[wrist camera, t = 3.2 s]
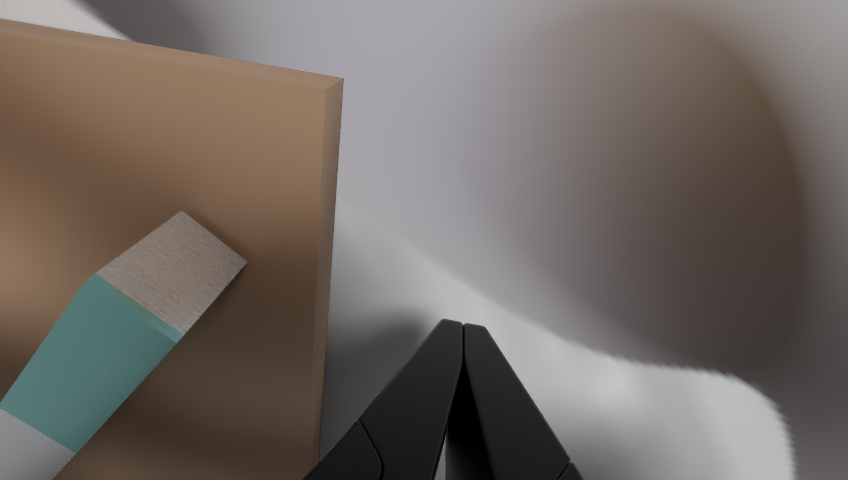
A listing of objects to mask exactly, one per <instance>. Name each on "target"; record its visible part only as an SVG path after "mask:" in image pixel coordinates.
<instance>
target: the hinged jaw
mask: <svg viewBox="0 0 848 480" xmlns="http://www.w3.org/2000/svg"><path fill="white" fill-rule="evenodd" d="M246 263H247V261H246V260H245V259H244V258H242V257H241V256H240V255H238V254H237V253H236V252H235V251H233V250H232V249H231V248H229V247H228V246H227V245H226V244H224V243H223V242H222V241H221V240H219V239H218V238H217V237H215V236H214V235H213V234H212V233H210V232H209V231H208V230H206V229H205V228H204V227H203V226H201V225H200V224H199V223H197V222H196V221H195V220H194V219H192V218H191V217H190V216H189V215H187V214H186V213H185V212H183V211H180V212H179V213H177V214H176V215H175V216H173V217H172V218H171V219H169V220H168V221H166V222H165V223H164V224H162V225H161V226H160V227H158V228H157V229H155V230H154V231H153V232H151V233H150V234H149V235H147V236H146V237H144V238H143V239H142V240H140V241H139V242H138V243H136V244H135V245H133V246H132V247H131V248H129V249H128V250H127V251H125V252H124V253H122V254H121V255H120V256H118V257H117V258H116V259H114V260H113V261H111V262H110V263H109V264H107V265H106V266H105V267H103V268H102V269H100V270H99V271H98V272H96V273H95V274H94V275H92V276H91V277H89V278H88V279H87V280H86V281H85V282H84V283H83V285H82V286H81V288H80V289H79V291H78V292H77V294H76V295H75V296H74V298H73V299H72V301H71V302H70V304H69V305H68V306H67V308H66V309H65V311H64V312H63V314H62V315H61V316H60V318H59V319H58V321H57V322H56V324H55V325H54V326H53V328H52V329H51V331H50V332H49V334H48V335H47V337H46V338H45V339H44V341H43V342H42V344H41V345H40V347H39V348H38V349H37V351H36V352H35V354H34V355H33V357H32V358H31V359H30V361H29V362H28V364H27V365H26V367H25V368H24V369H23V371H22V372H21V374H20V375H19V377H18V378H17V380H16V381H15V382H14V384H13V385H12V387H11V388H10V390H9V391H8V392H7V394H6V395H5V397H4V398H3V400H2V401H1V402H0V480H53V478H54V477H55V476H56V475H57V474H58V473H59V472H60V471H61V470H62V469H63V467H64V466H65V465H66V464H67V463H68V462H69V461H70V460H71V459H72V458H73V457H74V455H75V454H77V452H78V451H79V450H80V449H81V448H82V447H83V446H84V445H85V444H86V443H87V441H88V440H89V439H90V438H91V437H92V436H93V435H94V434H95V433H96V432H97V430H98V429H99V428H100V427H101V426H102V425H103V424H104V423H105V422H106V421H107V419H108V418H109V417H110V416H111V415H112V414H113V413H114V412H115V411H116V410H117V409H118V407H119V406H120V405H121V404H122V403H123V402H124V401H125V400H126V399H127V398H128V396H129V395H130V394H131V393H132V392H133V391H134V390H135V389H136V388H137V387H138V385H139V384H140V383H141V382H142V381H143V380H144V379H145V378H146V377H147V376H148V374H149V373H150V372H151V371H152V370H153V369H154V368H155V367H156V366H157V365H158V363H159V362H160V361H161V360H162V359H163V358H164V357H165V356H166V355H167V354H168V353H169V351H170V350H171V349H172V348H173V347H174V346H175V345H176V344H177V343H178V341H179V340H180V339H181V338H182V337H183V336H184V335H185V333H186V332H187V331H188V330H189V329H190V328H191V326H192V325H193V324H194V323H195V322H196V321H197V320H198V318H199V317H200V316H201V315H202V314H203V313H204V312H205V310H206V309H207V308H208V307H209V306H210V305H211V303H212V302H213V301H214V300H215V299H216V298H217V297H218V295H219V294H220V293H221V292H222V291H223V290H224V288H225V287H226V286H227V285H228V284H229V283H230V282H231V280H232V279H233V278H234V277H235V276H236V275H237V274H238V272H239V271H240V270H241V269H242V268H243V267H244V265H245V264H246Z"/></svg>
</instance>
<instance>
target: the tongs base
mask: <svg viewBox="0 0 848 480" xmlns="http://www.w3.org/2000/svg"><path fill="white" fill-rule="evenodd" d="M343 81H344V79H343V78H338V77H333V76H327V75H321V74H315V73H310V72H304V71H298V70H292V69H286V68H281V67H275V66H269V65H264V64H258V63H252V62H246V61H240V60H235V59H229V58H223V57H217V56H212V55H206V54H200V53H195V52H189V51H183V50H177V49H172V48H166V47H160V46H154V45H149V44H143V43H137V42H131V41H126V40H120V39H114V38H108V37H103V36H97V35H91V34H85V33H79V32H74V31H68V30H62V29H56V28H51V27H45V26H39V25H33V24H28V23H22V22H16V21H10V20H5V19H0V402H1V401H2V400H3V398H4V397H5V395H6V394H7V392H8V391H9V390H10V388H11V387H12V385H13V384H14V382H15V381H16V380H17V378H18V377H19V375H20V374H21V372H22V371H23V369H24V368H25V367H26V365H27V364H28V362H29V361H30V359H31V358H32V357H33V355H34V354H35V352H36V351H37V349H38V348H39V347H40V345H41V344H42V342H43V341H44V339H45V338H46V337H47V335H48V334H49V332H50V331H51V329H52V328H53V326H54V325H55V324H56V322H57V321H58V319H59V318H60V316H61V315H62V314H63V312H64V311H65V309H66V308H67V306H68V305H69V304H70V302H71V301H72V299H73V298H74V296H75V295H76V294H77V292H78V291H79V289H80V288H81V286H82V285H83V283H84V282H85V281H86V280H87V279H88V278H89V277H91V276H92V275H94V274H95V273H96V272H98V271H99V270H100V269H102V268H103V267H105V266H106V265H107V264H109V263H110V262H111V261H113V260H114V259H116V258H117V257H118V256H120V255H121V254H122V253H124V252H125V251H127V250H128V249H129V248H131V247H132V246H133V245H135V244H136V243H138V242H139V241H140V240H142V239H143V238H144V237H146V236H147V235H149V234H150V233H151V232H153V231H154V230H155V229H157V228H158V227H160V226H161V225H162V224H164V223H165V222H166V221H168V220H169V219H171V218H172V217H173V216H175V215H176V214H177V213H179V212H180V211H183V212H185V213H186V214H187V215H189V216H190V217H191V218H192V219H194V220H195V221H196V222H197V223H199V224H200V225H201V226H203V227H204V228H205V229H206V230H208V231H209V232H210V233H212V234H213V235H214V236H215V237H217V238H218V239H219V240H221V241H222V242H223V243H224V244H226V245H227V246H228V247H229V248H231V249H232V250H233V251H235V252H236V253H237V254H238V255H240V256H241V257H242V258H244V259H245V260H246V261H247V263H246V264H245V265H244V267H243V268H242V269H241V270H240V271H239V272H238V274H237V275H236V276H235V277H234V278H233V279H232V280H231V282H230V283H229V284H228V285H227V286H226V287H225V288H224V290H223V291H222V292H221V293H220V294H219V295H218V297H217V298H216V299H215V300H214V301H213V302H212V303H211V305H210V306H209V307H208V308H207V309H206V310H205V312H204V313H203V314H202V315H201V316H200V317H199V318H198V320H197V321H196V322H195V323H194V324H193V325H192V326H191V328H190V329H189V330H188V331H187V332H186V333H185V335H184V336H183V337H182V338H181V339H180V340H179V341H178V343H177V344H176V345H175V346H174V347H173V348H172V349H171V350H170V351H169V353H168V354H167V355H166V356H165V357H164V358H163V359H162V360H161V361H160V362H159V363H158V365H157V366H156V367H155V368H154V369H153V370H152V371H151V372H150V373H149V374H148V376H147V377H146V378H145V379H144V380H143V381H142V382H141V383H140V384H139V385H138V387H137V388H136V389H135V390H134V391H133V392H132V393H131V394H130V395H129V396H128V398H127V399H126V400H125V401H124V402H123V403H122V404H121V405H120V406H119V407H118V409H117V410H116V411H115V412H114V413H113V414H112V415H111V416H110V417H109V418H108V419H107V421H106V422H105V423H104V424H103V425H102V426H101V427H100V428H99V429H98V430H97V432H96V433H95V434H94V435H93V436H92V437H91V438H90V439H89V440H88V441H87V443H86V444H85V445H84V446H83V447H82V448H81V449H80V450H79V451H78V452H77V454H75V455H74V457H73V458H72V459H71V460H70V461H69V462H68V463H67V464H66V465H65V466H64V467H63V469H62V470H61V471H60V472H59V473H58V474H57V475H56V476H55V477H54V478H53V480H302V479H303V478H304V477H305V476H306V475H307V474H308V473H309V472H310V471H311V470H312V469H313V468H314V467H315V466H316V465H317V464H318V460H319V445H320V429H321V414H322V399H323V384H324V369H325V354H326V338H327V323H328V308H329V293H330V278H331V263H332V248H333V232H334V217H335V202H336V187H337V171H338V157H339V141H340V125H341V110H342V96H343V95H342V94H343Z"/></svg>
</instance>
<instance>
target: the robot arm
mask: <svg viewBox="0 0 848 480" xmlns="http://www.w3.org/2000/svg"><path fill="white" fill-rule="evenodd" d="M445 436H446V450H445V456H446V480H584V478H583V477H582V475H581V474H580V472H579V471H578V469H577V467H576V466H575V464H574V463H572V462H571V459H570V457H569V455H568V454H567V452H566V451H565V449H564V448H563V446H562V445H561V443H560V442H559V440H558V438H557V437H556V435H555V434H554V432H553V431H552V429H551V428H550V426H549V425H548V423H547V421H546V420H545V418H544V417H543V415H542V414H541V412H540V411H539V409H538V408H537V406H536V404H535V403H534V401H533V400H532V398H531V397H530V395H529V394H528V392H527V391H526V389H525V387H524V386H523V384H522V383H521V381H520V380H519V378H518V377H517V375H516V374H515V372H514V370H513V369H512V367H511V366H510V364H509V363H508V361H507V360H506V358H505V357H504V355H503V354H502V352H501V350H500V349H499V347H498V346H497V344H496V343H495V341H494V340H493V338H492V337H491V335H490V333H489V332H488V330H487V329H486V328H485V327H484V326H480V325H475V324H469V323H465V324H464V325H463V324H462V323H461V322H459V321H453V320H448V319H442V320H441V321H440V322H439V323H438V324H437V325H436V327H435V328H434V329H433V330H432V331H431V333H430V334H429V335H428V336H427V337H426V339H425V340H424V341H423V342H422V343H421V345H420V346H419V347H418V348H417V349H416V351H415V352H414V353H413V354H412V355H411V357H410V358H409V359H408V360H407V361H406V363H405V364H404V365H403V366H402V367H401V369H400V370H399V371H398V372H397V373H396V375H395V376H394V377H393V378H392V379H391V381H390V382H389V383H388V384H387V385H386V386H385V388H384V389H383V390H382V391H381V392H380V394H379V395H378V396H377V397H376V398H375V400H374V401H373V402H372V403H371V404H370V406H369V407H368V408H367V409H366V410H365V412H364V413H363V414H362V415H361V416H360V418H359V419H358V421H357V422H355V423H354V424H353V426H352V427H351V428H350V429H349V430H348V432H347V433H346V434H345V435H344V436H343V438H342V439H341V440H340V441H339V442H338V443H337V444H336V445H335V446H334V448H333V449H332V450H331V451H330V452H329V453H328V454H327V455H326V456H325V457H324V458H323V459H322V460H321V461H320V462H319V463H318V464H317V465H316V466H315V467H314V468H313V469H312V470H311V471H310V472H309V473H308V474H307V475H306V476H305V477H304V478H303V479H302V480H435V476H436V472H437V468H438V464H439V460H440V456H441V452H442V448H443V444H444V440H445ZM570 462H571V463H570Z"/></svg>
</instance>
